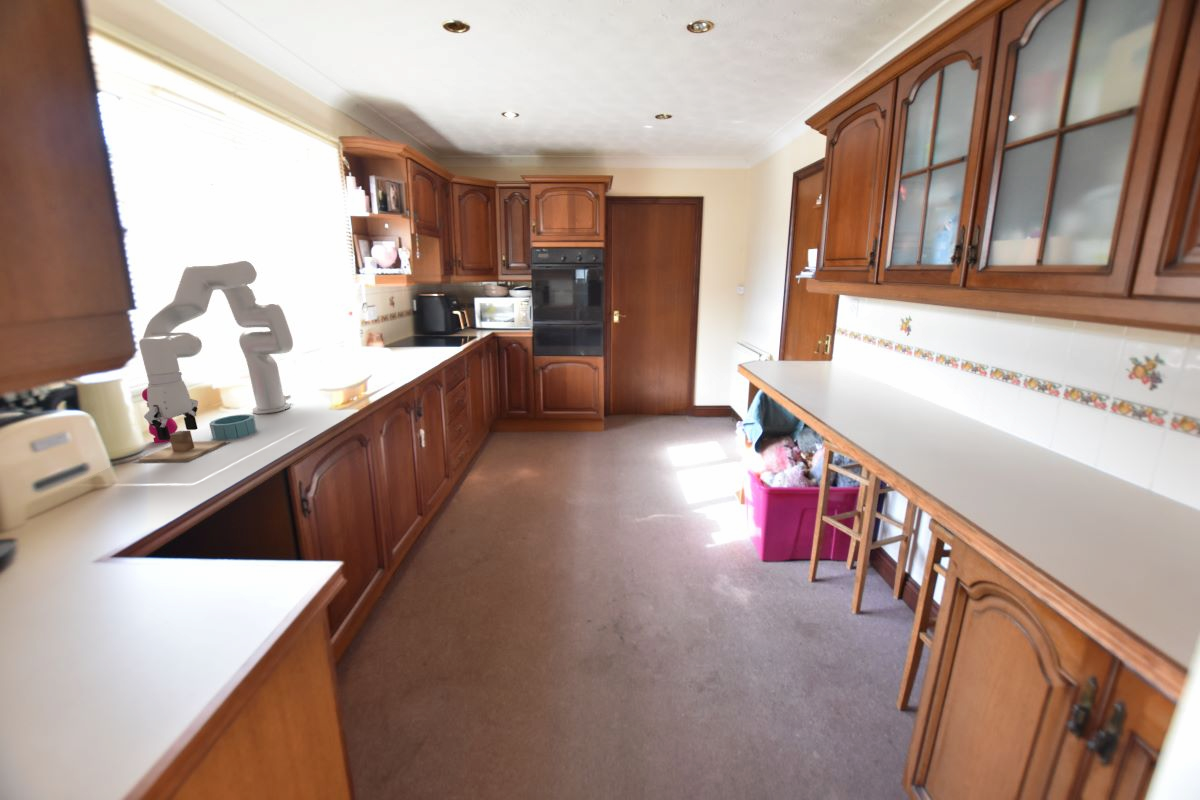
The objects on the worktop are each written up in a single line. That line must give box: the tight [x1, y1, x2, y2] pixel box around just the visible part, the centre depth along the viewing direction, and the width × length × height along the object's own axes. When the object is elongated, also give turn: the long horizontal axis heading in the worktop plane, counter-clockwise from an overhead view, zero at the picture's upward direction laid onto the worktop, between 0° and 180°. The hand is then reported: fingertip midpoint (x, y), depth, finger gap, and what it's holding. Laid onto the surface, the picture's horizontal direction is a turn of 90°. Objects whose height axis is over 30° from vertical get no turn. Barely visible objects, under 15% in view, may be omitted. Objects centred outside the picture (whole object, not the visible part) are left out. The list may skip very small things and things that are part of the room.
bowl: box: [209, 413, 258, 441], centre depth 174 cm, size 12×12×6 cm
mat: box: [133, 441, 232, 464], centre depth 158 cm, size 17×17×1 cm
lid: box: [137, 430, 227, 462], centre depth 157 cm, size 15×15×6 cm
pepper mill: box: [141, 382, 179, 444], centre depth 168 cm, size 7×7×20 cm
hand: (178, 434), depth 156 cm, fingers open, 9 cm apart
